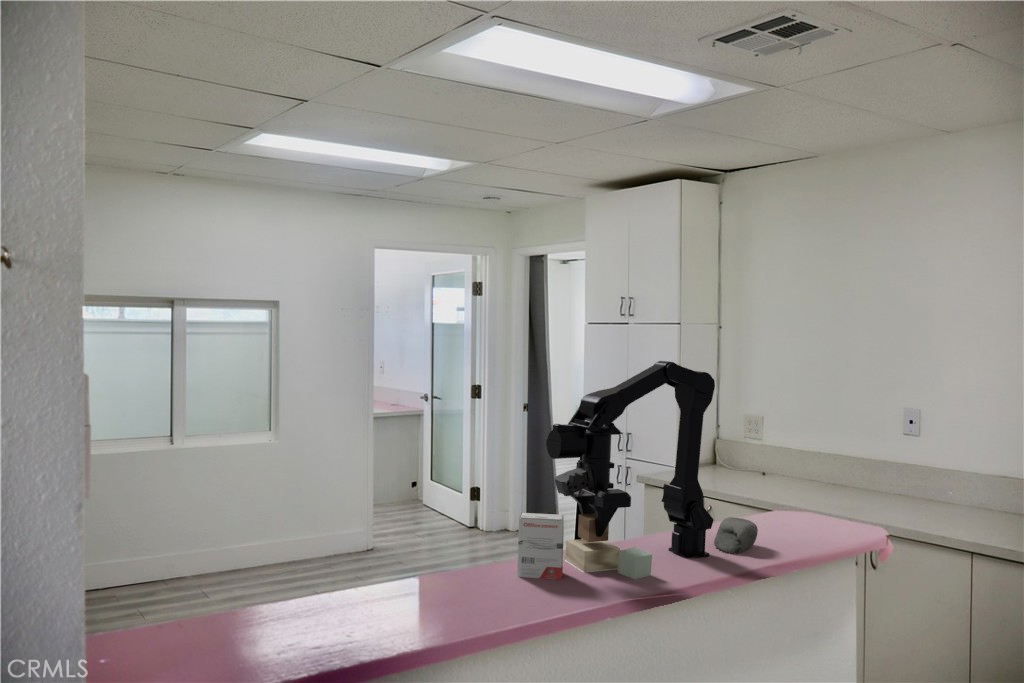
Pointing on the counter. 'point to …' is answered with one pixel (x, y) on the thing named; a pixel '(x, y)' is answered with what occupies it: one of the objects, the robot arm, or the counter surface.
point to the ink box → (540, 546)
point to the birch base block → (592, 555)
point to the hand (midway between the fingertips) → (593, 533)
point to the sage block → (634, 563)
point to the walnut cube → (590, 529)
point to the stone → (735, 535)
